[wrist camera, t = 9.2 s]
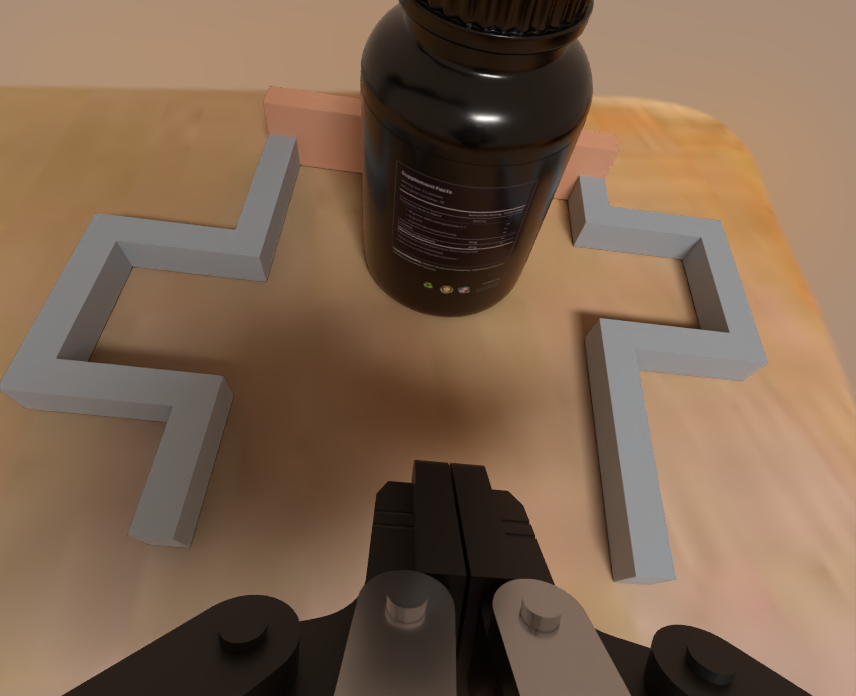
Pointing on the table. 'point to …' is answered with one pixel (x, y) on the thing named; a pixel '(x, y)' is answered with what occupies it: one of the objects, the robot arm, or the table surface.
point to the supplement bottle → (466, 142)
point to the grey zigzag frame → (251, 260)
